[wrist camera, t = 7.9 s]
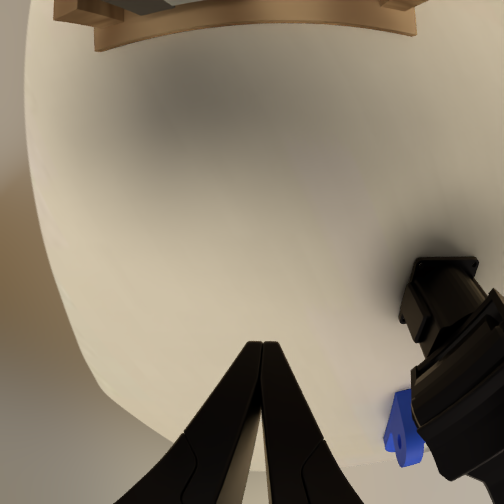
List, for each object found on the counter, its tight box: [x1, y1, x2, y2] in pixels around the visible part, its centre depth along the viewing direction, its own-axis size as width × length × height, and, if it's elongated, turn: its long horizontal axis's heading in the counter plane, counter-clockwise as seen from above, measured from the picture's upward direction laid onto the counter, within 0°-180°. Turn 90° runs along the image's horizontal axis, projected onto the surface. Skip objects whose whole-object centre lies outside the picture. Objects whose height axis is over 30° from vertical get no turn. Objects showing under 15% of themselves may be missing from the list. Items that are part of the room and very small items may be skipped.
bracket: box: [384, 389, 425, 467], centre depth 30 cm, size 18×8×9 cm, turn 14°
